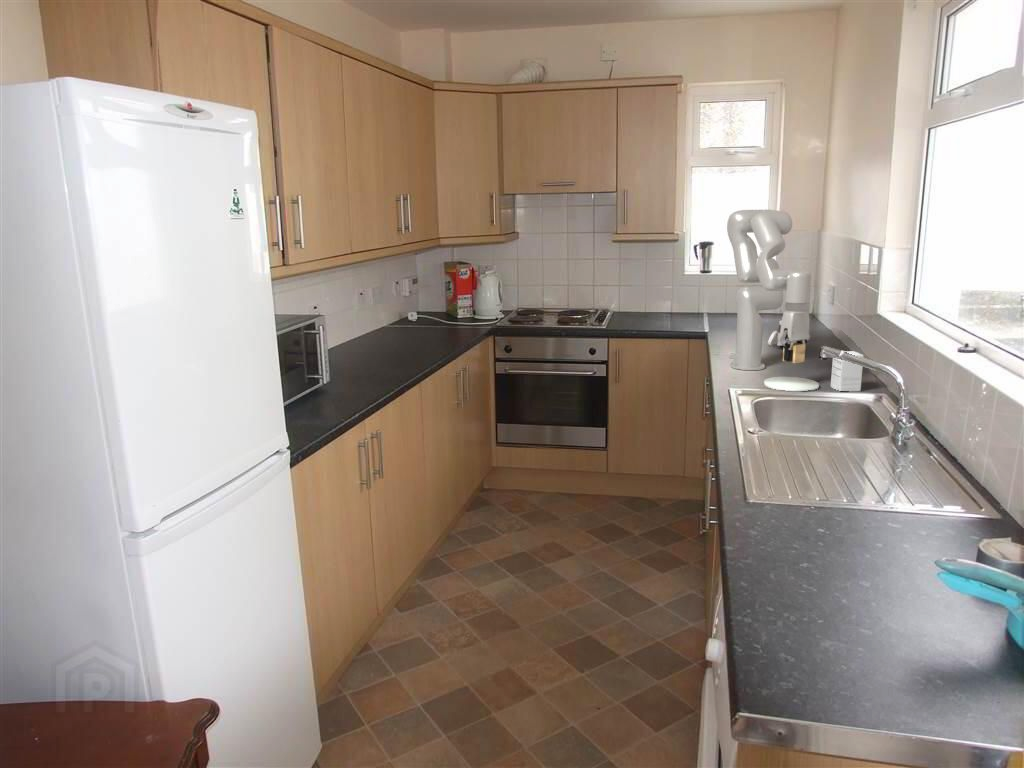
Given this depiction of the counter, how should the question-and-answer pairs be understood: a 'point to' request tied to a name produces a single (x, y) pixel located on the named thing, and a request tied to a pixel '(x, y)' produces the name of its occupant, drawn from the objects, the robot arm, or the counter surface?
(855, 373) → the supplement box
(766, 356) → the counter surface
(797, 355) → the block
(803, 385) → the dish
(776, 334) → the spread jar
